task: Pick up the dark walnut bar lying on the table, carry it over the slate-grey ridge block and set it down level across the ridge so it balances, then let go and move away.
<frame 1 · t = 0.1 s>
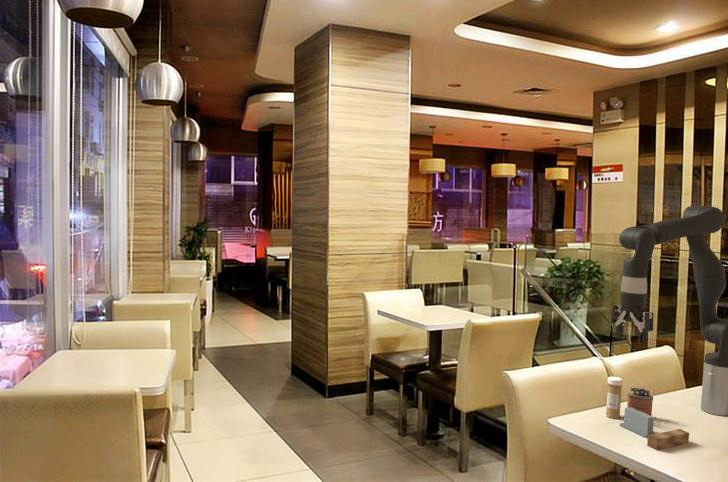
hand: (630, 340, 185), 29 cm above the table, tool pointing down, fingers open, 8 cm apart
sprinkles bottle: (612, 416, 198), on the table
lighter: (638, 416, 199), on the table
fulcrum: (637, 430, 186), on the table
walnut bar: (667, 445, 176), on the table
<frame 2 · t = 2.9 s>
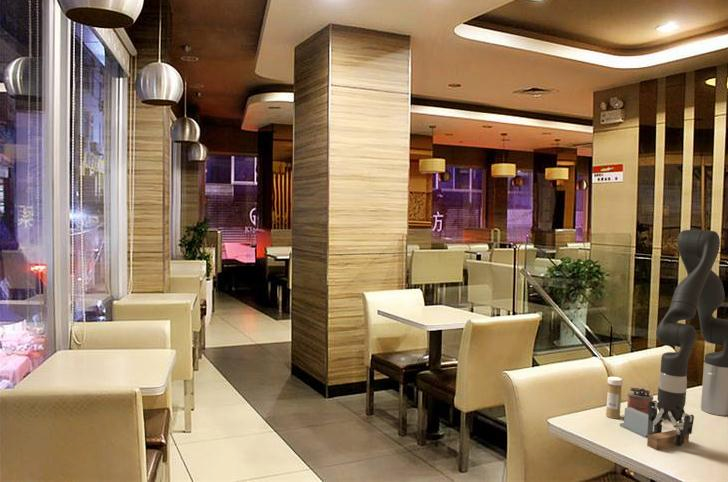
hand: (668, 440, 176), 1 cm above the table, tool pointing down, fingers open, 6 cm apart
nothing on the table moved.
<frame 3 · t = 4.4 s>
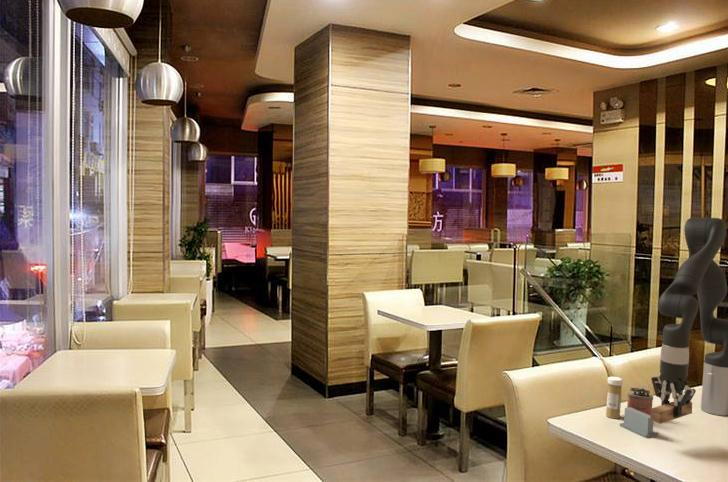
hand: (670, 414, 176), 9 cm above the table, tool pointing down, fingers closed on walnut bar, 3 cm apart
walnut bar: (671, 416, 176), point 9 cm above the table, tilted 6°, touching gripper
everything else where it was.
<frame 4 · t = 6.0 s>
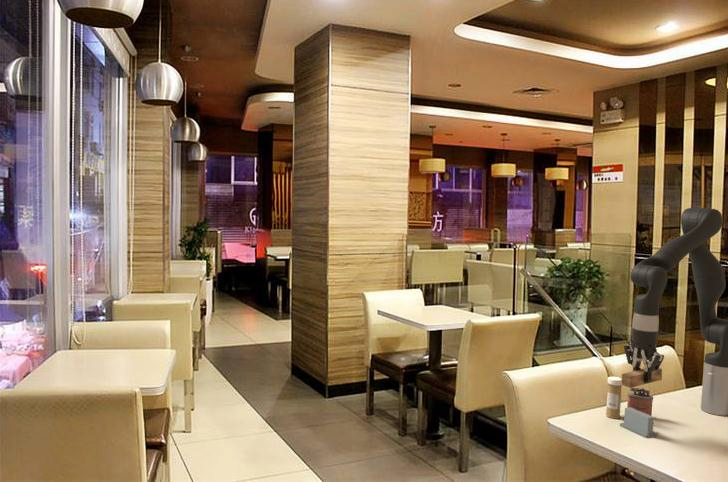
hand: (641, 380, 185), 17 cm above the table, tool pointing down, fingers closed on walnut bar, 3 cm apart
walnut bar: (642, 382, 185), point 16 cm above the table, touching gripper
everything else where it was.
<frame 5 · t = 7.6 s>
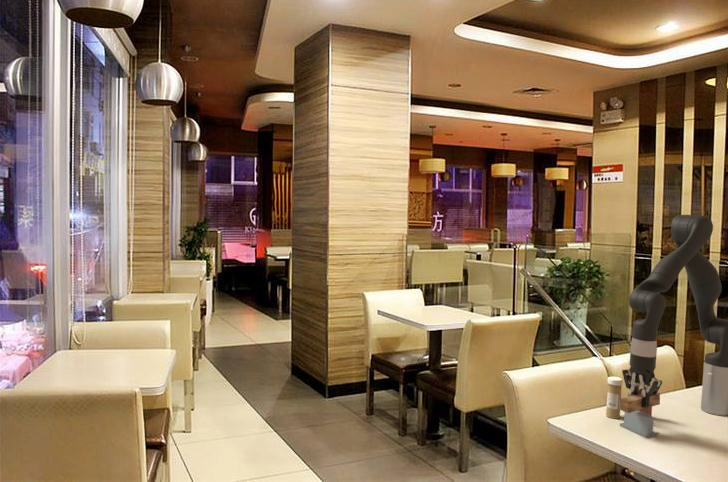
hand: (639, 405, 186), 8 cm above the table, tool pointing down, fingers closed on walnut bar, 3 cm apart
walnut bar: (640, 406, 186), point 8 cm above the table, touching gripper
everything else where it was.
when the fingers open (7 cm above the table, at t = 8.4 s): walnut bar stays where it is, resting on fulcrum.
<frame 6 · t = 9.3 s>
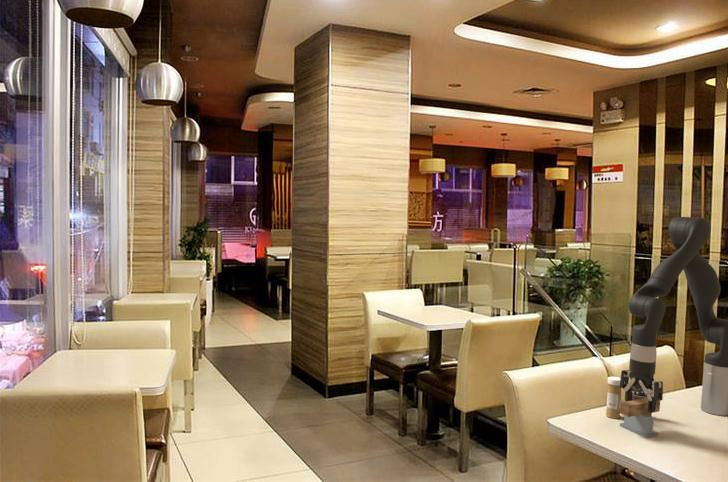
hand: (639, 407, 186), 8 cm above the table, tool pointing down, fingers open, 8 cm apart
walnut bar: (639, 412, 186), point 6 cm above the table, touching fulcrum
everything else where it was.
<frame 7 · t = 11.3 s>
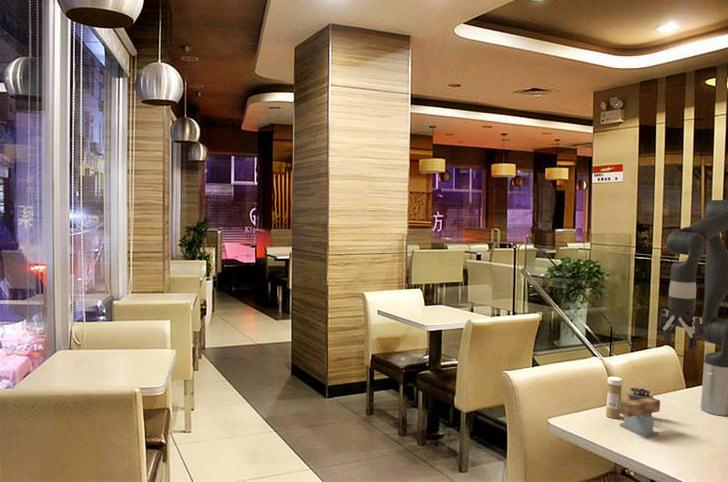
hand: (679, 345, 184), 28 cm above the table, tool pointing down, fingers open, 8 cm apart
nothing on the table moved.
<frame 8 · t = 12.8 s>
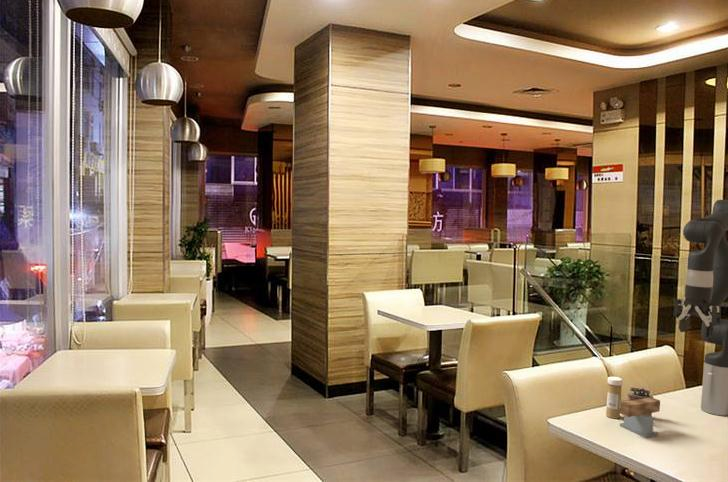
hand: (695, 334, 183), 32 cm above the table, tool pointing down, fingers open, 8 cm apart
nothing on the table moved.
at the end: walnut bar 0.3 cm off-centre on the fulcrum, point 6.0 cm above the fulcrum's base; walnut bar tilted 0°; walnut bar touching fulcrum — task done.
